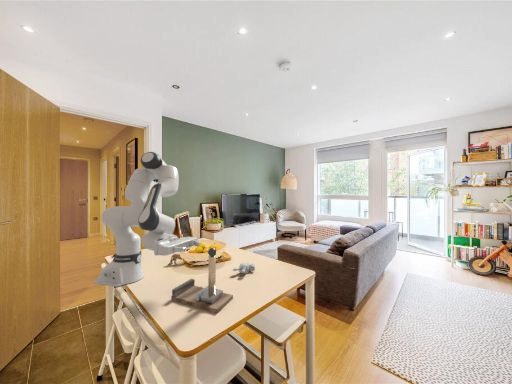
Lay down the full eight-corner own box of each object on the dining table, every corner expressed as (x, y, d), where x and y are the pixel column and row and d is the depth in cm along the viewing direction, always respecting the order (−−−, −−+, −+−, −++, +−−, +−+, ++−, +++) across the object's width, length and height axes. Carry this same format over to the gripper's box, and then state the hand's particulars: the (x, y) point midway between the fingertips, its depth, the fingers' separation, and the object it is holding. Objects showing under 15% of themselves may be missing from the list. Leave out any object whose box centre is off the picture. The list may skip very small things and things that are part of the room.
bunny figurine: (258, 263, 123) (245, 268, 110) (257, 271, 122) (244, 277, 110) (245, 260, 128) (231, 264, 115) (244, 268, 127) (230, 274, 114)
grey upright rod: (196, 301, 84) (196, 249, 84) (210, 290, 93) (211, 244, 93) (210, 305, 81) (211, 251, 81) (224, 293, 90) (224, 245, 90)
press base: (171, 299, 88) (171, 289, 88) (190, 287, 99) (190, 278, 99) (217, 313, 78) (217, 301, 78) (232, 298, 89) (233, 288, 89)
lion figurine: (190, 260, 138) (191, 247, 138) (192, 262, 133) (192, 249, 133) (167, 264, 130) (167, 250, 130) (168, 266, 126) (168, 252, 126)
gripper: (185, 244, 106) (206, 247, 101) (151, 256, 88) (175, 260, 82) (185, 232, 106) (206, 235, 101) (151, 241, 88) (175, 245, 82)
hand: (192, 246), depth 91 cm, fingers open, 8 cm apart
